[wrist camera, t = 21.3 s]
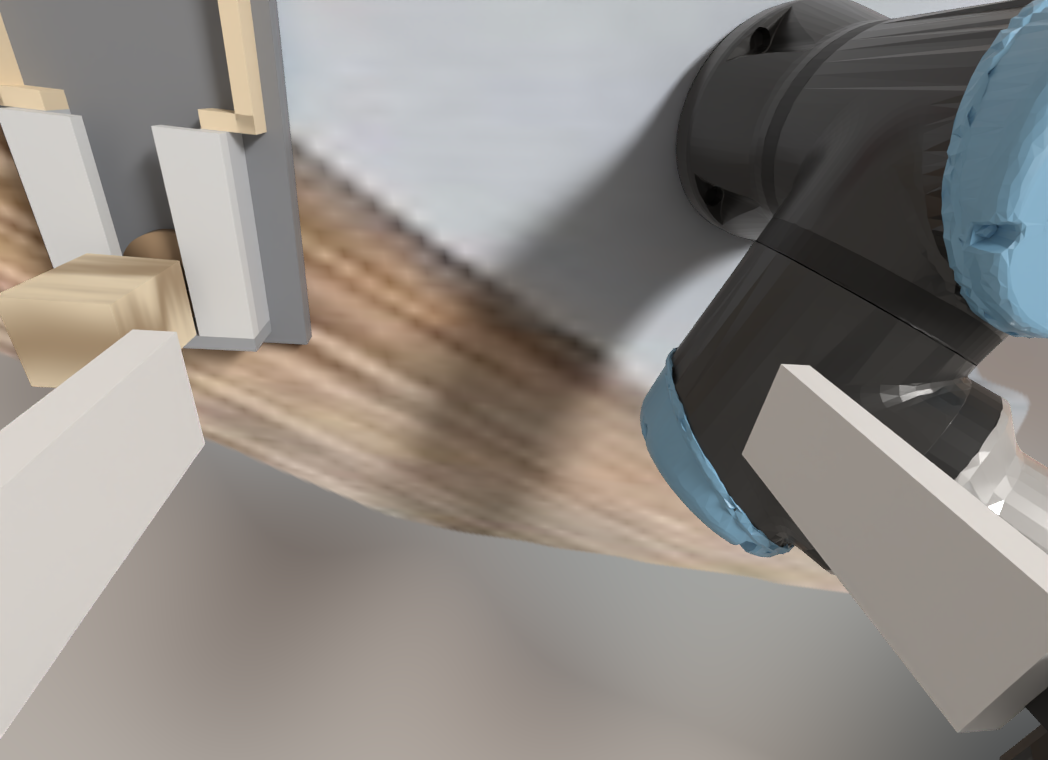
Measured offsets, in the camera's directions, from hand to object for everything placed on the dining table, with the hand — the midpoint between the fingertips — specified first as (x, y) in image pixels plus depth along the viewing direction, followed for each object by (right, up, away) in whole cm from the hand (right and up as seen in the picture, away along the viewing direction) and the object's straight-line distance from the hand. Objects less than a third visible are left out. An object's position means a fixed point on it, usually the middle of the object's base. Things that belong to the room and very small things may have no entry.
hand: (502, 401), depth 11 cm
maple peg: (-24, +8, +24) cm, 35 cm away
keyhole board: (-23, +17, +20) cm, 35 cm away
